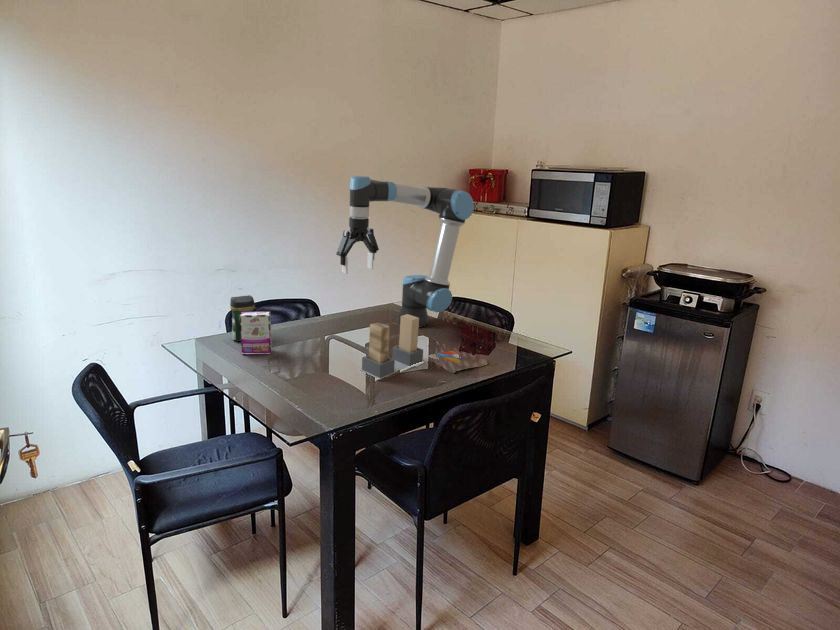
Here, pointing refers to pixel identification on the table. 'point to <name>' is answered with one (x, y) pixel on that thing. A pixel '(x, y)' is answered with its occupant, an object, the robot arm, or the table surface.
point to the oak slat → (379, 342)
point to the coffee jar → (237, 307)
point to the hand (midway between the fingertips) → (357, 270)
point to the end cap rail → (398, 351)
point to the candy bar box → (255, 332)
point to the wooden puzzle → (446, 356)
